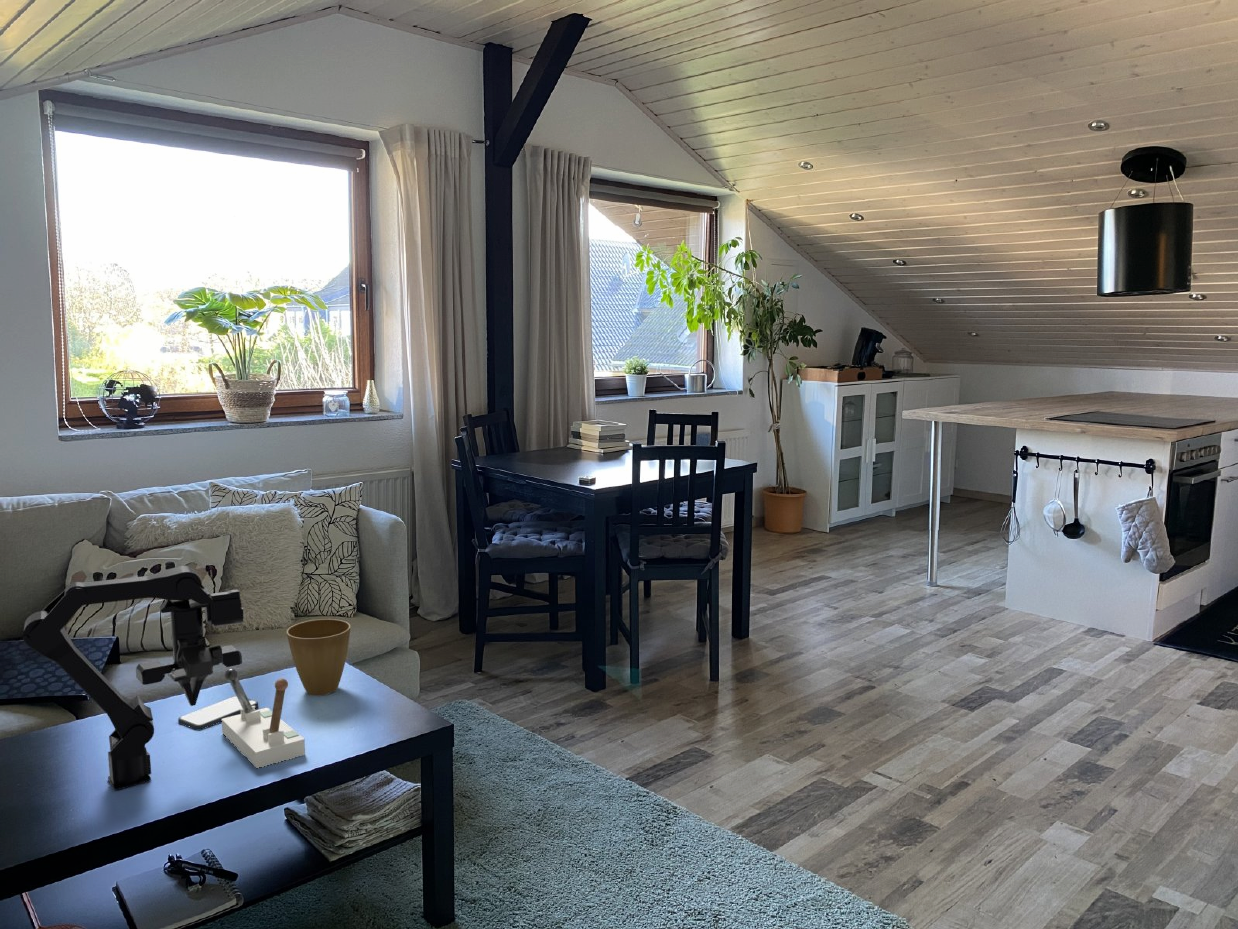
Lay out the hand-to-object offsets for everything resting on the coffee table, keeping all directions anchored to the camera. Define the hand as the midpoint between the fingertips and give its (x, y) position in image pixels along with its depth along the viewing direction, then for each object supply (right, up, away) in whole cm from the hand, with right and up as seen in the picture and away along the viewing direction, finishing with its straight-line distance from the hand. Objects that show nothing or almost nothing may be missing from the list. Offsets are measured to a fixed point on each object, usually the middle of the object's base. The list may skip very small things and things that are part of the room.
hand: (192, 705), depth 191 cm
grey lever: (+5, -6, +17) cm, 19 cm away
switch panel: (+10, -11, +12) cm, 19 cm away
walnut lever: (+14, -8, +6) cm, 17 cm away
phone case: (-7, -10, +28) cm, 31 cm away
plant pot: (+13, -8, +43) cm, 45 cm away
